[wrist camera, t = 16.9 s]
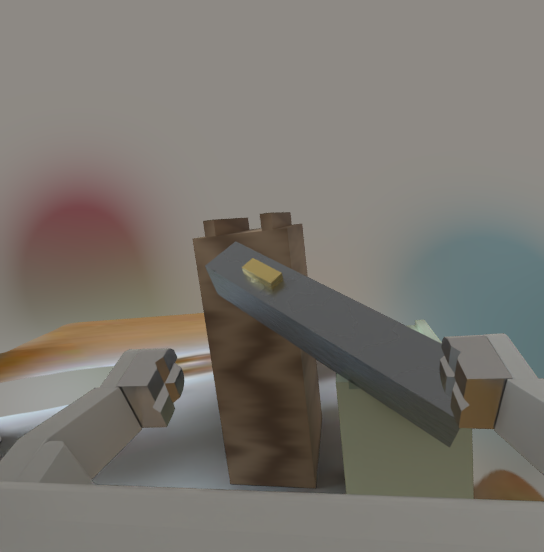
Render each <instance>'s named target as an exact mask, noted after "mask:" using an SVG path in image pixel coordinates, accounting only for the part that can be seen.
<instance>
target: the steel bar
mask: <svg viewBox="0 0 544 552" xmlns="http://www.w3.org/2000/svg"><path fill="white" fill-rule="evenodd" d="M205 267H206V270H207V272H208V274H209V276H210V278H211V281H212V283H213V285H214V287H215V289H216V292H217V294H218V295H220V296H221V297H223V298H224V299H226V300H227V301H229V302H230V303H232V304H233V305H235V306H236V307H238V308H239V309H241V310H242V311H244V312H245V313H247V314H248V315H250V316H251V317H253V318H254V319H256V320H257V321H259V322H260V323H262V324H264V325H265V326H267V327H268V328H270V329H271V330H273V331H274V332H276V333H277V334H279V335H280V336H282V337H283V338H285V339H286V340H288V341H289V342H291V343H292V344H294V345H295V346H297V347H298V348H300V349H301V350H303V351H304V352H306V353H307V354H309V355H310V356H312V357H313V358H315V359H316V360H318V361H319V362H321V363H322V364H324V365H325V366H327V367H329V368H330V369H332V370H333V371H335V372H336V373H338V374H339V375H341V376H342V377H344V378H345V379H347V380H348V381H350V382H351V383H353V384H354V385H356V386H357V387H359V388H360V389H362V390H363V391H365V392H366V393H368V394H369V395H371V396H372V397H374V398H375V399H377V400H378V401H380V402H381V403H383V404H384V405H386V406H387V407H389V408H390V409H392V410H394V411H395V412H397V413H398V414H400V415H401V416H403V417H404V418H406V419H407V420H409V421H410V422H412V423H413V424H415V425H416V426H418V427H419V428H421V429H422V430H424V431H425V432H427V433H428V434H430V435H431V436H433V437H434V438H436V439H437V440H439V441H440V442H442V443H443V444H445V445H446V446H448V447H449V448H450V446H451V445H452V443H453V441H454V439H455V437H456V435H457V433H458V432H459V430H460V428H459V427H458V425H457V422H456V420H455V417H454V415H453V412H452V410H451V407H450V405H451V397H449V396H448V395H447V394H445V392H444V389H443V386H442V383H441V379H440V370H439V366H440V359H441V358H442V357H443V356H444V353H443V351H442V348H441V346H442V343H440V342H438V341H435V340H433V339H431V338H429V337H427V336H425V335H423V334H421V333H419V332H417V331H415V330H413V329H411V328H409V327H407V326H405V325H403V324H401V323H399V322H397V321H395V320H393V319H391V318H389V317H387V316H385V315H383V314H381V313H379V312H377V311H375V310H373V309H371V308H369V307H367V306H365V305H363V304H361V303H359V302H357V301H355V300H353V299H351V298H349V297H347V296H345V295H343V294H341V293H339V292H337V291H335V290H333V289H331V288H329V287H327V286H325V285H323V284H320V283H319V282H317V281H315V280H313V279H311V278H309V277H307V276H305V275H303V274H301V273H299V272H297V271H295V270H293V269H291V268H289V267H286V266H284V265H282V264H280V263H278V262H276V261H274V260H272V259H270V258H268V257H266V256H264V255H262V254H260V253H258V252H256V251H254V250H252V249H250V248H248V247H246V246H244V245H242V244H240V243H238V242H236V241H235V242H234V243H233V244H232V245H230V246H229V247H228V248H227V249H225V250H224V251H223V252H222V253H220V254H219V255H218V256H217V257H215V258H214V259H213V260H212V261H210V262H209V263H208V264H207V265H205Z"/></svg>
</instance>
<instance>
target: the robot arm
mask: <svg viewBox="0 0 544 552" xmlns="http://www.w3.org/2000/svg"><path fill="white" fill-rule="evenodd" d="M441 348H442V351H443V353H444V356H443V357H442V358H441V359H440V366H439V370H440V379H441V383H442V386H443V389H444V392H445V394H447V395H448V396H449V397H451V405H450V407H451V410H452V412H453V415H454V417H455V420H456V422H457V425H458V427H459V428H476V429H495V430H494V431H495V432H496V433H498V434H499V435H500V436H501V437H502V438H503V439H505V441H506V442H508V443H509V444H510V445H511V446H512V447H513V448H514V449H515V450H516V451H517V452H519V453H520V454H521V455H522V456H523V457H524V458H525V459H526V460H528V461H529V462H530V463H531V464H532V465H533V466H534V467H535V468H536V469H537V470H539V471H540V472H541V473H542V474H543V475H544V379H538V377H537V376H536V375H535V373H534V372H533V371H532V369H531V368H530V366H529V365H528V364H527V362H526V361H525V359H524V358H523V357H522V355H521V354H520V352H519V351H518V350H517V348H516V347H515V346H514V344H513V343H512V341H511V340H510V339H509V337H508V336H507V335H505V334H504V333H503V334H486V335H472V336H453V337H444V338H443V340H442V346H441ZM176 359H177V356H176V354H175V352H174V350H173V349H129V350H127V351H125V352H124V353H123V355H122V356H121V358H120V359H119V360H118V362H117V363H116V365H115V366H114V368H113V369H112V370H111V372H110V373H109V375H108V376H107V378H106V379H105V380H104V382H103V383H102V385H101V386H100V387H99V388H94V389H93V390H91V391H89V392H88V393H86V394H85V395H83V396H82V397H80V398H79V399H77V400H76V401H75V402H73V403H71V404H70V405H68V406H67V407H65V408H64V409H62V410H61V411H59V412H58V413H56V414H55V415H53V416H52V417H50V418H49V419H47V420H46V421H44V422H43V423H41V424H40V425H38V426H37V427H35V428H34V429H32V430H31V431H29V432H28V433H26V434H25V435H23V436H22V437H21V438H19V439H18V440H17V441H16V442H15V444H14V445H13V446H12V447H11V448H10V450H9V451H8V452H7V453H6V455H5V456H4V457H3V458H2V459H1V461H0V552H544V501H518V500H491V499H465V498H438V497H411V496H384V495H356V494H329V493H302V492H276V491H249V490H223V489H197V488H171V487H144V486H118V485H95V484H94V482H93V481H92V479H93V478H94V477H95V476H96V475H97V474H98V473H99V472H100V471H101V470H102V469H103V468H104V467H105V466H106V465H107V464H108V463H109V462H110V461H111V460H112V459H113V458H114V457H115V456H116V455H117V454H118V453H119V452H120V451H121V450H122V449H123V448H124V447H125V446H126V445H127V444H128V443H129V442H130V441H131V440H132V439H133V438H134V437H135V436H136V435H137V434H138V433H139V432H140V431H141V430H142V428H153V427H167V426H168V424H169V422H170V419H171V417H172V415H173V412H174V410H175V407H174V404H173V403H174V402H175V401H176V400H177V399H178V398H179V397H180V396H181V394H182V391H183V387H184V374H183V371H182V368H181V367H180V366H178V365H177V364H176V363H175V361H176ZM0 441H1V437H0Z"/></svg>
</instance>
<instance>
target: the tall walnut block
mask: <svg viewBox="0 0 544 552" xmlns="http://www.w3.org/2000/svg"><path fill="white" fill-rule="evenodd" d="M260 219H261V229H260V228H259V229H252V230H249V223H248V218H235V219H218V220H207V221H203V224H204V230H205V237H200V238H194V239H193V245H194V251H195V258H196V264H197V270H198V277H199V284H200V290H201V297H202V303H203V310H204V316H205V323H206V329H207V335H208V342H209V348H210V355H211V361H212V368H213V374H214V381H215V387H216V394H217V400H218V407H219V413H220V420H221V426H222V433H223V439H224V446H225V452H226V459H227V465H228V472H229V478H230V484H240V485H260V486H280V487H300V488H316V478H317V468H318V457H319V446H320V435H321V424H322V413H321V403H320V394H319V384H318V374H317V364H316V359H315V358H313V357H312V356H310V355H309V354H307V353H306V352H304V351H303V350H301V349H300V348H298V347H297V346H295V345H294V344H292V343H291V342H289V341H288V340H286V339H285V338H283V337H282V336H280V335H279V334H277V333H276V332H274V331H273V330H271V329H270V328H268V327H267V326H265V325H264V324H262V323H260V322H259V321H257V320H256V319H254V318H253V317H251V316H250V315H248V314H247V313H245V312H244V311H242V310H241V309H239V308H238V307H236V306H235V305H233V304H232V303H230V302H229V301H227V300H226V299H224V298H223V297H221V296H220V295H218V294H217V292H216V289H215V287H214V285H213V283H212V281H211V278H210V276H209V274H208V272H207V270H206V267H205V265H207V264H208V263H209V262H210V261H212V260H213V259H214V258H215V257H217V256H218V255H219V254H220V253H222V252H223V251H224V250H225V249H227V248H228V247H229V246H230V245H232V244H233V243H234V242H235V241H236V242H238V243H240V244H242V245H244V246H246V247H248V248H250V249H252V250H254V251H256V252H258V253H260V254H262V255H264V256H266V257H268V258H270V259H272V260H274V261H276V262H278V263H280V264H282V265H284V266H286V267H289V268H291V269H293V270H295V271H297V272H299V273H301V274H303V275H305V276H307V266H306V257H305V247H304V239H303V238H304V237H303V228H302V224H294V225H292V224H291V215H290V212H286V213H264V214H260Z"/></svg>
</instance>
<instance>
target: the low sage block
mask: <svg viewBox="0 0 544 552" xmlns="http://www.w3.org/2000/svg"><path fill="white" fill-rule="evenodd" d="M407 327H409V328H411V329H413V330H415V331H417V332H419V333H421V334H423V335H425V336H427V337H429V338H431V339H433V340H435V341H438V342H440V343H442V342H441V341H440V340H439V339H438V337H437V336H436V335H435V333H434V332H433V331H432V329H431V328H430V327H429V326H428V324H427V323H426V322H425V320H415V325H410V326H407ZM336 389H337V399H338V410H339V421H340V432H341V442H342V453H343V464H344V474H345V485H346V494H356V495H384V496H411V497H438V498H465V499H474V489H473V453H472V451H473V450H472V428H460V430H459V432H458V433H457V435H456V437H455V439H454V441H453V443H452V445H451V446H450V448H449V447H448V446H446V445H445V444H443V443H442V442H440V441H439V440H437V439H436V438H434V437H433V436H431V435H430V434H428V433H427V432H425V431H424V430H422V429H421V428H419V427H418V426H416V425H415V424H413V423H412V422H410V421H409V420H407V419H406V418H404V417H403V416H401V415H400V414H398V413H397V412H395V411H394V410H392V409H390V408H389V407H387V406H386V405H384V404H383V403H381V402H380V401H378V400H377V399H375V398H374V397H372V396H371V395H369V394H368V393H366V392H365V391H363V390H362V389H360V388H359V387H357V386H356V385H354V384H353V383H351V382H350V381H348V380H347V379H345V378H344V377H342V376H341V375H339V374H338V373H336Z"/></svg>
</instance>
